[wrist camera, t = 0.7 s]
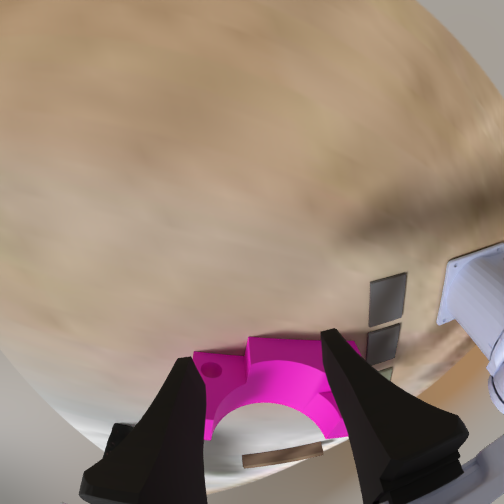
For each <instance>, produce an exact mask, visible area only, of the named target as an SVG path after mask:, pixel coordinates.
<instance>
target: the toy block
mask: <svg viewBox="0 0 504 504" xmlns="http://www.w3.org/2000/svg"><path fill="white" fill-rule="evenodd" d="M347 342H348V343H349V344H350V346H351V347H352V348H353V349H354V350H355V351H356V352H357V353H358V354H359V355H360V356H361V354H360V352H359V350H358V348H357V346H356V344H355V342H354V341H347ZM361 357H362V356H361ZM193 361H194V363H195V365H196V367H197V369H198V371H199V373H200V375H201V377H202V379H203V381H204V383H205V385H206V403H207V406H206V419H205V431H204V440H211V438H212V434H213V432H214V429H215V428H216V426H217V424H218V423H219V422H220V420H221V419H222V418H223V417H224V416H226V415H227V414H228V413H230V412H231V411H233V410H235V409H236V408H239V407H241V406H244V405H248V404H253V403H263V402H264V403H276V404H282V405H285V406H288V407H291V408H294V409H296V410H298V411H300V412H302V413H303V414H305V415H306V416H308V417H309V418H310V419H311V420H313V421H314V422H315V423H316V425H317V426H318V427H319V428H320V430H321V431H322V433H323V434H324V437H325V439H331V438H339V437H347V436H348V433H347V429H346V426H345V424H344V421H343V418H342V416H341V413H340V411H339V409H338V406H337V404H336V401H335V399H334V396H333V394H332V391H331V389H330V386H329V384H328V380H327V377H326V373H325V370H324V366H323V360H322V345H321V340H293V339H274V338H259V337H248V341H247V346H246V351H245V355H244V356H236V355H224V354H214V353H204V352H195V351H194V354H193Z"/></svg>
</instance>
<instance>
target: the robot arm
mask: <svg viewBox="0 0 504 504" xmlns="http://www.w3.org/2000/svg"><path fill="white" fill-rule="evenodd" d="M453 319H456V321H457V322H458V323H459V324H460V325H461V326H462V328H463V329H464V330H465V331H466V332H467V334H468V335H469V336H470V337H471V338H472V340H473V341H474V342H475V343H476V345H477V346H478V347H479V348H480V350H481V351H482V352H483V353H484V355H485V356H486V357H487V358H488V360H489V361H490V362H489V364H488V366H487V367H486V368H487V370H488V371H489V373H490V374H491V375H490V377H489V379H488V388H489V393H490V397H491V399H492V401H493V403H494V405H495V406H496V408H497V409H498V410H499V411H500V412H501V413H503V414H504V243H499V244H497V245H494V246H491V247H488V248H485V249H483V250H480V251H477V252H474V253H471V254H468V255H465V256H462V257H459V258H456V259H453V260H450V261H449V262H448V264H447V269H446V276H445V282H444V287H443V293H442V298H441V303H440V308H439V312H438V317H437V321H436V323H437V324H438V325H442V324H444V323H446V322H449V321H451V320H453ZM321 345H322V360H323V366H324V370H325V373H326V377H327V380H328V384H329V386H330V389H331V391H332V394H333V396H334V399H335V401H336V404H337V406H338V409H339V411H340V413H341V416H342V418H343V421H344V424H345V426H346V429H347V433H348V436H349V440H350V444H351V448H352V451H353V456H354V460H355V464H356V468H357V473H358V478H359V482H360V487H361V493H362V498H363V504H490V503H492V502H493V501H494V500H496V499H497V498H498V497H500V496H501V495H502V494H504V434H503V435H502V436H501V437H499V438H498V439H496V440H495V441H494V442H492V443H491V444H489V445H488V446H487V447H485V448H484V449H483V450H482V451H480V452H479V453H478V454H477V455H476V457H475V458H473V459H471V460H470V461H468V462H467V463H465V464H463V465H462V466H461V464H460V462H459V460H458V458H460V454H459V452H458V449H459V448H460V446H461V445H462V444H463V443H464V442H465V441H466V439H467V438H468V436H469V432H468V430H467V428H466V426H465V424H464V423H463V422H462V420H461V419H460V418H459V416H458V415H455V414H452V413H449V412H447V411H444V410H441V409H439V408H437V407H434V406H432V405H430V404H428V403H426V402H424V401H422V400H420V399H418V398H416V397H415V396H413V395H411V394H409V393H407V392H406V391H404V390H403V389H401V388H400V387H398V386H396V385H395V384H394V383H392V382H391V381H389V380H388V379H387V378H385V377H384V376H383V375H382V374H380V373H379V372H378V371H377V370H376V369H374V368H373V367H372V366H371V365H370V364H369V363H368V362H367V361H365V360H364V359H363V358H362V357H361V356H360V355H359V354H358V353H357V352H356V351H355V350H354V349H353V348H352V347H351V346H350V344H349V343H348V342H347V341H346V340H345V339H344V338H343V337H342V335H341V334H340V333H339V332H338V330H337V329H335V328H333V329H329V330H326V331H322V332H321ZM206 406H207V403H206V385H205V383H204V381H203V379H202V377H201V375H200V373H199V371H198V369H197V367H196V365H195V363H194V361H193V359H192V357H184V358H178V359H177V360H176V362H175V364H174V366H173V368H172V370H171V371H170V373H169V375H168V377H167V379H166V380H165V382H164V384H163V386H162V387H161V389H160V391H159V393H158V394H157V396H156V398H155V399H154V401H153V402H152V404H151V405H150V407H149V408H148V410H147V411H146V413H145V414H144V416H143V417H142V418H141V420H140V421H139V422H138V423H137V425H136V426H135V427H134V428H133V430H132V431H131V432H130V433H129V434H128V435H127V436H126V437H125V438H124V439H123V440H122V442H121V443H120V444H119V445H118V446H117V447H115V448H114V449H113V450H112V451H111V452H110V453H109V454H107V455H106V456H105V457H104V458H103V459H101V460H100V461H99V462H98V463H96V464H95V465H93V466H92V467H90V468H89V469H87V470H86V471H84V474H83V478H82V482H81V486H80V491H79V496H80V497H81V498H82V499H83V500H85V501H86V502H88V503H90V504H207V495H206V488H205V477H204V462H203V444H204V431H205V419H206ZM61 504H66V503H63V502H62V503H61Z"/></svg>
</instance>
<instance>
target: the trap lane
mask: <svg viewBox="0 0 504 504" xmlns="http://www.w3.org/2000/svg"><path fill="white" fill-rule="evenodd" d="M405 283H406V273H401V274H398V275H394V276H391V277H387V278H384V279H380V280H376V281H373V282H370V306H369V327H373V326H376V325H380V324H383V323H386V322H389V321H392V320H395V319H399V318H401V317H402V309H403V301H404V293H405ZM399 330H400V324H399V323H398V324H395V325H392V326H389V327H386V328H383V329H380V330H376V331H373V332H370V333H368V340H367V352H366V361H367V362H368V363H369V364H370V365H371V366H372V365H375V364H378V363H381V362H384V361H387V360H390V359H393V358H395V353H396V348H397V342H398V336H399ZM378 372H379V373H380V374H382V375H383V376H384V377H385V378H387V379H388V380H389V381H390V377H391V373H392V367H390V368H387V369H384V370H381V371H378ZM320 455H323V449H322V445H321V442H317V443H312V444H308V445H303V446H298V447H293V448H288V449H283V450H277V451H271V452H264V453H257V454H249V455H242V462H243V467H244V468H253V467H261V466H268V465H275V464H281V463H287V462H293V461H298V460H303V459H307V458H312V457H316V456H320Z"/></svg>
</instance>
